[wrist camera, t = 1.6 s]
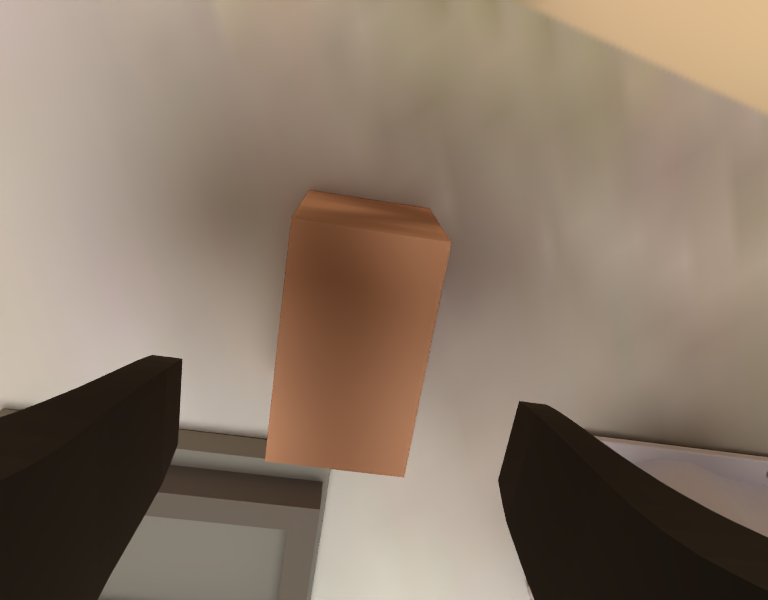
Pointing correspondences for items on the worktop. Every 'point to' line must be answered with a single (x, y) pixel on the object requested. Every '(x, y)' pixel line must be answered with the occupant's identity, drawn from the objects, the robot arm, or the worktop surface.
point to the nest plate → (224, 526)
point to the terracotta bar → (354, 333)
